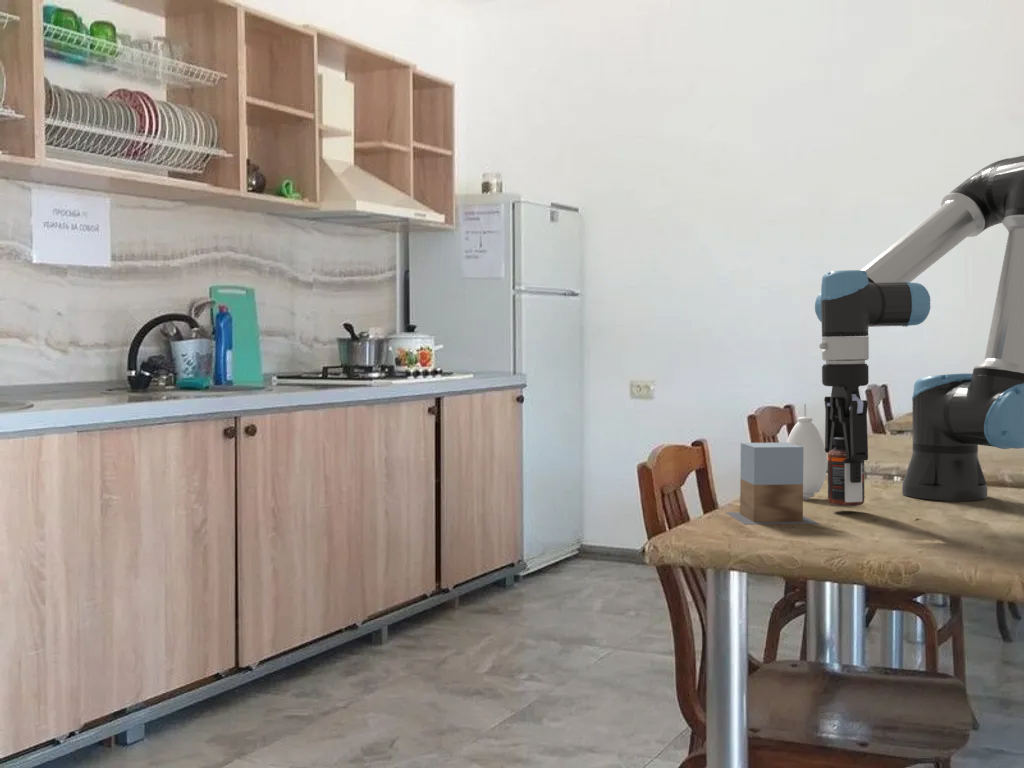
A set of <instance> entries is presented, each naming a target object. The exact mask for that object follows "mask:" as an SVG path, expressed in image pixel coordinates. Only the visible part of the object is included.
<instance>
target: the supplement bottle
mask: <svg viewBox="0 0 1024 768" xmlns="http://www.w3.org/2000/svg"><path fill="white" fill-rule="evenodd" d="M833 440H834V441H833V445H834V446H835V447H834V448H833V449H832V450H831V451H829V453H827V502H828V503H829V504H831V505H833V506H839V507H840V506H843V507H857V506H861V505H863V504H864V503H865V461H864V462H863V463H862V502H845V466H844V463H843V460H845V459H847V457H846V448H845V440H844V437H835V438H834V439H833Z"/></svg>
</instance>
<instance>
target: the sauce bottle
mask: <svg viewBox="0 0 1024 768" xmlns="http://www.w3.org/2000/svg"><path fill="white" fill-rule="evenodd" d="M785 443H791V444H794V445H798V446H801V447H803V501H804V500H805V501H806V500H810V498H813V497H815V494H816V493H819V492H820V491H821V489H822V487H823V486H824V482H825V480H826V477H827V470H828V460H827V453H826V452H825V443H824V441H823V439H822V437H821V434H820V432H819V430H818V428H817V426H816V425H815V424H814V423H813V418H812V417H809V416H807V404H806V403H804V404H803V416H800V417H797V422H796V424H795V425H794V426H793V427H792V429H791V431H790V433H789V435H788V437H787V440H786V442H785Z"/></svg>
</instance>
